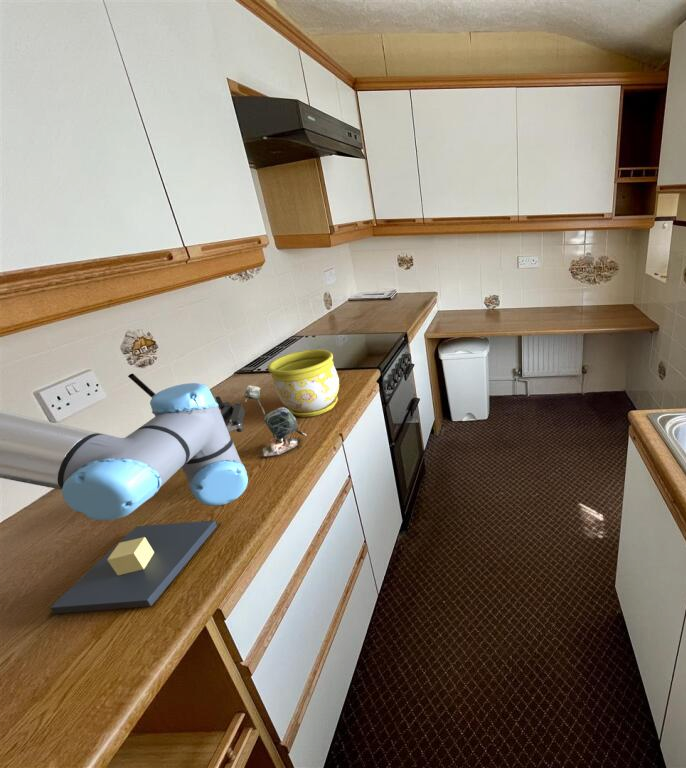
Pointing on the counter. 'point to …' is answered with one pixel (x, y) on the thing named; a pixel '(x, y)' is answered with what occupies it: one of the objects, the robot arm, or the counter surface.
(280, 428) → the decorative sculpture
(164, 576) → the tray
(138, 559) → the pale yellow cube
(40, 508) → the counter surface
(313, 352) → the flowerpot
